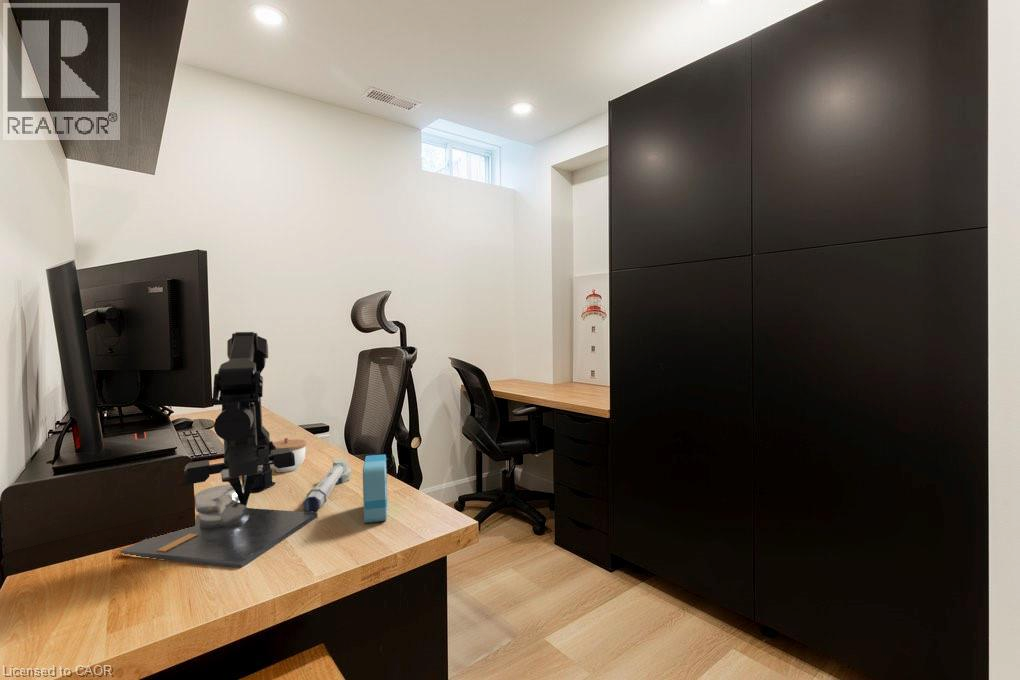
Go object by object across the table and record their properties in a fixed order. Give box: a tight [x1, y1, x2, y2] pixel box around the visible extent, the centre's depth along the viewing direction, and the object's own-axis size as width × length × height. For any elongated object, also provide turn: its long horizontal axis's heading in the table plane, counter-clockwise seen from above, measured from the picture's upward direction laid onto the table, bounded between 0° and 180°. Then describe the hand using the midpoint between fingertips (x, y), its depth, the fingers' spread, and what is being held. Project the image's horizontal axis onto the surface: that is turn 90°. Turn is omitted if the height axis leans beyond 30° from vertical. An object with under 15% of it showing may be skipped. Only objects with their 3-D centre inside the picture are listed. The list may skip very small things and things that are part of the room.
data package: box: [362, 454, 388, 524], centre depth 105 cm, size 12×4×12 cm, turn 14°
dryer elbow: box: [195, 483, 249, 529], centre depth 97 cm, size 18×9×5 cm, turn 42°
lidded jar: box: [270, 437, 307, 473], centre depth 140 cm, size 11×11×9 cm
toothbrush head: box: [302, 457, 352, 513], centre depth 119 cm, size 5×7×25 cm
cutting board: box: [119, 507, 318, 569], centre depth 95 cm, size 26×22×4 cm
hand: (244, 507), depth 94 cm, fingers closed
